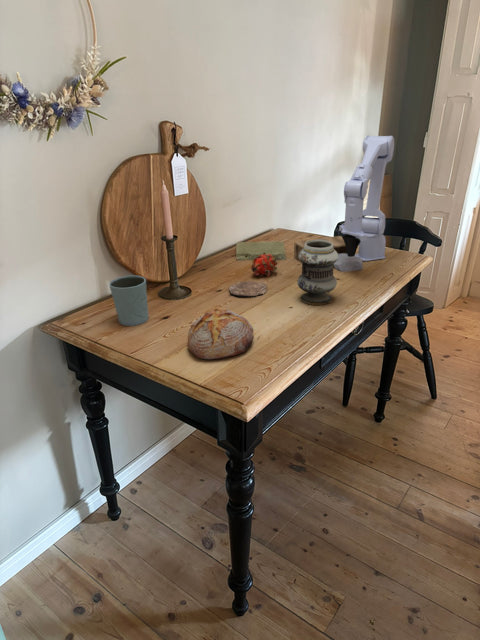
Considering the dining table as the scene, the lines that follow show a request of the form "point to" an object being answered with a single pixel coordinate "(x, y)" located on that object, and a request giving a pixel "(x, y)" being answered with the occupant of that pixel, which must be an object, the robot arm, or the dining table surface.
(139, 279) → the teal cup
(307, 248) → the apothecary jar
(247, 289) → the shell
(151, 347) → the dining table surface
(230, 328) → the bread
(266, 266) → the dragon fruit
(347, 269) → the stone block
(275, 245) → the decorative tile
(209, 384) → the dining table surface
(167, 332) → the dining table surface
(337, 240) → the oak shelf
